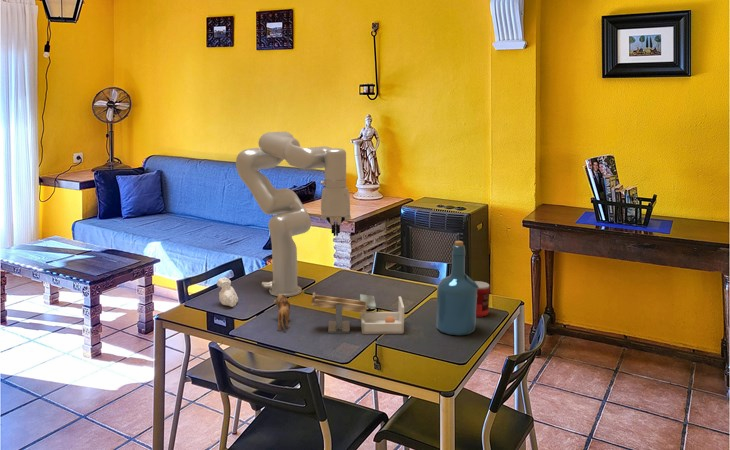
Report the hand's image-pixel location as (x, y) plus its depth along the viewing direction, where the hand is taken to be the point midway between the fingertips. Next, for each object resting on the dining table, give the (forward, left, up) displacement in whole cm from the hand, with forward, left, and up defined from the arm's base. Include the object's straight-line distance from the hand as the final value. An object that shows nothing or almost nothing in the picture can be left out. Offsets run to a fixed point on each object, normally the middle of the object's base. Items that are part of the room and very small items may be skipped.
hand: (335, 235), depth 213 cm
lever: (+3, -15, -20) cm, 25 cm away
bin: (+15, -20, -27) cm, 37 cm away
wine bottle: (+40, -22, -27) cm, 53 cm away
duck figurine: (-40, +5, -27) cm, 49 cm away
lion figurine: (-18, -16, -27) cm, 36 cm away
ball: (+18, -20, -25) cm, 37 cm away
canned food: (+50, -8, -27) cm, 58 cm away
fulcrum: (+1, -20, -27) cm, 34 cm away
